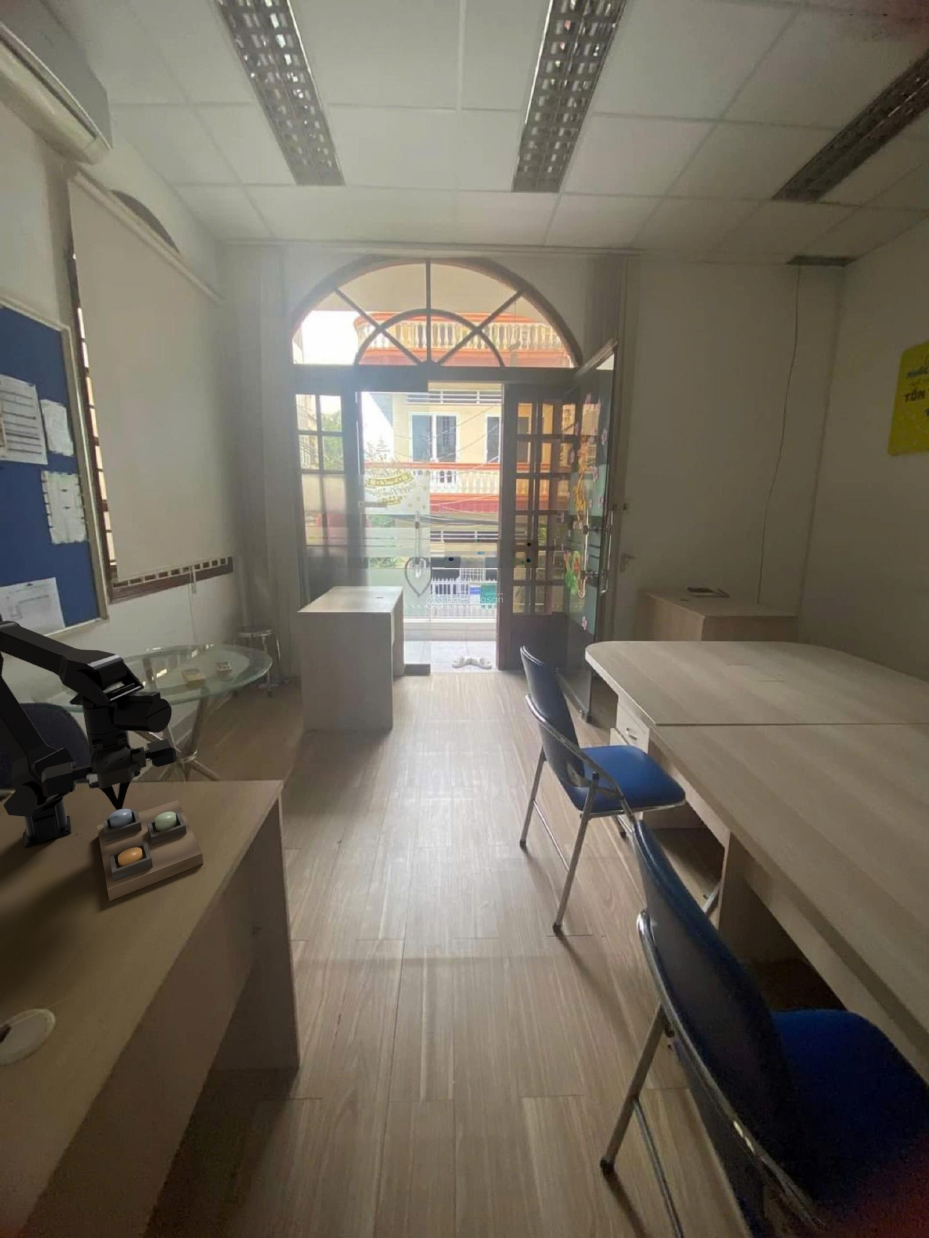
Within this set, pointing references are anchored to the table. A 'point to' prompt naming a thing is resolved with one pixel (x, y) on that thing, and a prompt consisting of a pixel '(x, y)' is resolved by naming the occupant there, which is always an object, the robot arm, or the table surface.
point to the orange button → (130, 856)
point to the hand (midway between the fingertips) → (119, 808)
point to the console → (147, 850)
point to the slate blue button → (121, 818)
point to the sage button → (165, 821)
